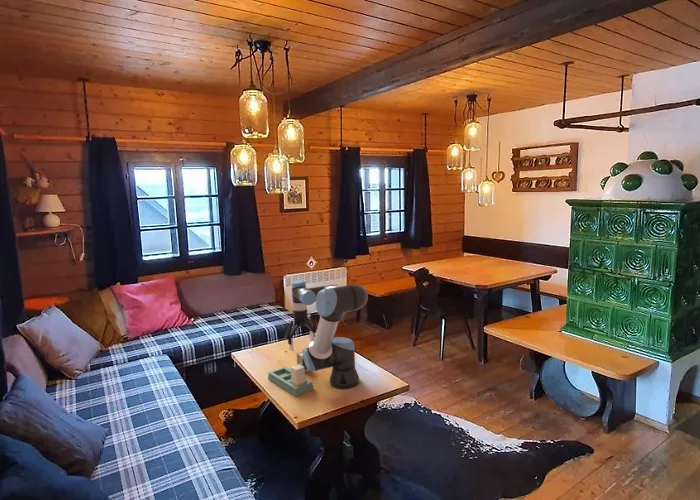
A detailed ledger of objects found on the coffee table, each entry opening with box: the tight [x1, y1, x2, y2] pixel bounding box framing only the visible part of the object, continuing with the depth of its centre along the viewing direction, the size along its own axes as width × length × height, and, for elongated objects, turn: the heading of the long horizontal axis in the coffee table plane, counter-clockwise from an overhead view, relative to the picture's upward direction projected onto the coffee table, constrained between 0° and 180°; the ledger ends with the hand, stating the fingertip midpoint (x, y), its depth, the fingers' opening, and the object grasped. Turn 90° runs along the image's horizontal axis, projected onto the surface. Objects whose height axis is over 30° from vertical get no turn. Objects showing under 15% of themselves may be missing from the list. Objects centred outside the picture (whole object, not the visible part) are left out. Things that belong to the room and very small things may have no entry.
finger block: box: [296, 350, 310, 373], centre depth 240 cm, size 6×5×10 cm
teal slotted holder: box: [267, 364, 315, 398], centre depth 224 cm, size 26×11×12 cm, turn 40°
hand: (302, 346), depth 239 cm, fingers open, 13 cm apart
